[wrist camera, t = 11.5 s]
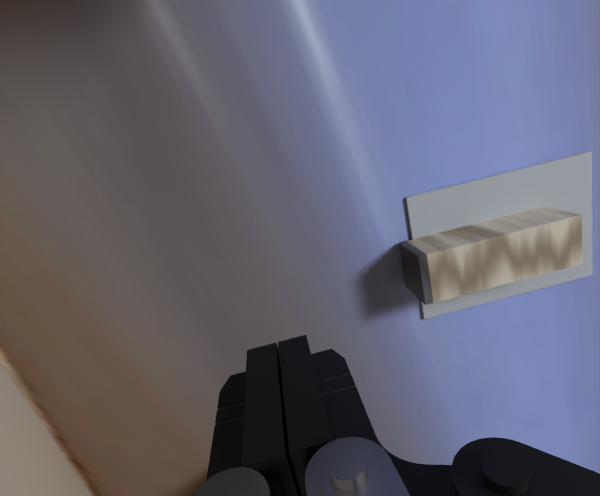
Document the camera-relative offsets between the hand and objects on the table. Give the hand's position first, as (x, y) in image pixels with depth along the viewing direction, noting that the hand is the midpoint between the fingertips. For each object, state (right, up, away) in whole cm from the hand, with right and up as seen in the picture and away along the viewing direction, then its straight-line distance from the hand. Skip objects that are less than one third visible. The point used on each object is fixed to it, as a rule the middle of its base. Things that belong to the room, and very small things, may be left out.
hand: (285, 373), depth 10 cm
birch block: (+12, +1, +28) cm, 31 cm away
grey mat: (+22, +4, +32) cm, 39 cm away
